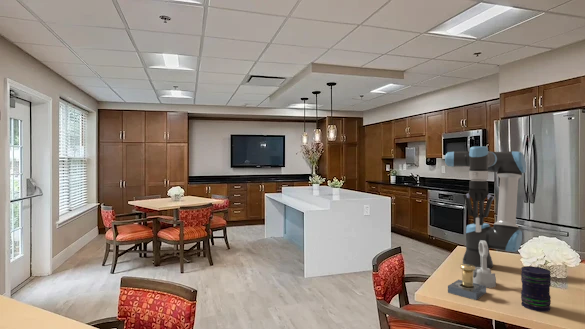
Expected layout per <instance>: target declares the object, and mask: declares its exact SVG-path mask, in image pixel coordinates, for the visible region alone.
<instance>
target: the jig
mask: <svg viewBox="0 0 585 329" xmlns="http://www.w3.org/2000/svg"><path fill="white" fill-rule="evenodd" d="M447 293H448V294H453V295H456V296H459V297H463V298H467V299H471V300H476V301H477V300H479V299H480V298H481V297H483V296H484V295H485V294H487V287H486V286H484V285H480V284H475V283H473V288H465V287H462V279H457V280H456V281H454V282H452V283H450V284H449V285H447Z"/></svg>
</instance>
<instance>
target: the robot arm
mask: <svg viewBox="0 0 585 329" xmlns="http://www.w3.org/2000/svg"><path fill="white" fill-rule="evenodd" d="M444 164H445V165H446V167H451V168H455V167H456V168H457V167H458V168H469V170H468V171H469V175H468V176H469V190H468V192H467V193H466V194H463V195H462V197H463V198H464V201H465V203H466V209H467V211H468V216H471V217H472V218H473V219H472V220H473V221H472V222H473V223H470V224H467V225H466V228H465V229H466V230H465V252H464V254H463V257H462V264H470V265H473V266H475V267H481V258H480V253H479V242H480V241H481V240H483V241H486V242H487V245H488V256H487V268H489V269H492V268H493V267H494V263H493V260H492V259H493V258H492V256H491V253H490V249H492V250H499V251H504V252H512V253H515V252H517V251H519V249H520V247H521V245H522V240H523V231H522V230H520V228H519V226H518V224H516V222H517V220H516V219H517V206H518V205H517V204H518V191H519V190H518V188H519V179H521V178H522V176H523V174H524V173H526V171H527V163H526V158H525V155H524V153H523V152H522V151H516V150H515V151H514V150H512V151H489V148H488V146H471V147H470V148H469V151H447V153H445V157H444ZM489 173H497V174H496V175H497V177H498V178H499V185H498V186H499V189H498V202H497V203H498V204H497V216H496V217H497V218H496V221H495V222H494V223H493V226H491V225H490V224H489V223H484V219H485V218H487V217H489V213H490V210H491V207H492V203H493V201H494V199H495V196H494V195H491V194H490V192H489V182H488V181H487V180H489ZM471 199H472V202H471ZM486 199H487V200H486ZM485 200H486V201H487V202H486V203H485ZM485 204H486V205H485Z"/></svg>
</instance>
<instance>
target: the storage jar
mask: <svg viewBox="0 0 585 329" xmlns="http://www.w3.org/2000/svg"><path fill="white" fill-rule="evenodd" d="M520 277H521V279H520V281H521V290H520V298H521V306H522V307H523V306H524V307H523V308H525V309H527V310H531V311H535V312H544V313H547V312H550V310H551V299H552V298H551V294H550V287H551V286H552V283H551V280H552V278H551V271H550V270H549V269H546V268H543V267H540V266H533V265H532V266H530V265H529V266H527V265H525V266H522V267H521V273H520Z"/></svg>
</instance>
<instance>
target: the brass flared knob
mask: <svg viewBox="0 0 585 329" xmlns="http://www.w3.org/2000/svg"><path fill="white" fill-rule="evenodd" d="M459 266H460V267H459V268H460V269H461V273H462V274H461V280H462V287H465V288H473V271H474V270H475V266H473V265H470V264H463V263H462V264H460V265H459Z"/></svg>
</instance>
